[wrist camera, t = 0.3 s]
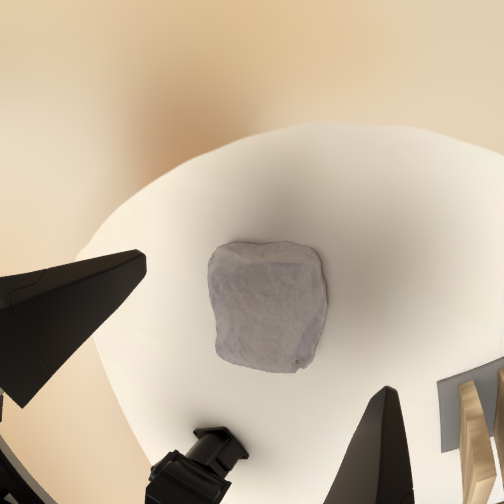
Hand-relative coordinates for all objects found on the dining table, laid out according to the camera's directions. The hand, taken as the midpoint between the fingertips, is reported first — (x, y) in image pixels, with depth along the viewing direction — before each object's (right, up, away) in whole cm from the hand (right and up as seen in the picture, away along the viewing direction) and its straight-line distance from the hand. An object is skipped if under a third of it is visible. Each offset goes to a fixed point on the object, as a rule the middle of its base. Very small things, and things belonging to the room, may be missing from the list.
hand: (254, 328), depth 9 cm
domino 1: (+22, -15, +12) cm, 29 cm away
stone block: (+2, -2, +18) cm, 18 cm away
